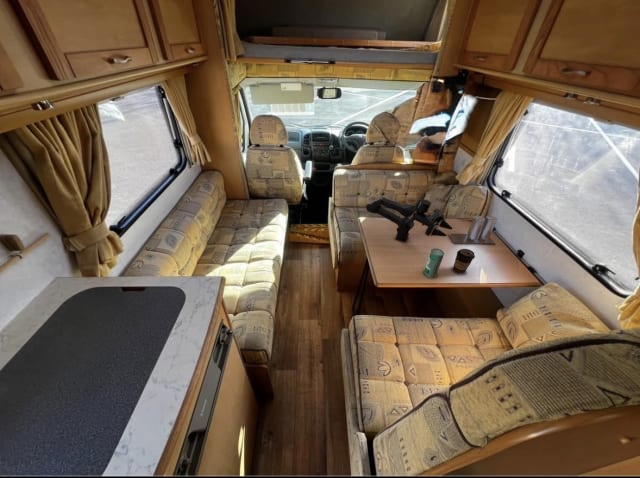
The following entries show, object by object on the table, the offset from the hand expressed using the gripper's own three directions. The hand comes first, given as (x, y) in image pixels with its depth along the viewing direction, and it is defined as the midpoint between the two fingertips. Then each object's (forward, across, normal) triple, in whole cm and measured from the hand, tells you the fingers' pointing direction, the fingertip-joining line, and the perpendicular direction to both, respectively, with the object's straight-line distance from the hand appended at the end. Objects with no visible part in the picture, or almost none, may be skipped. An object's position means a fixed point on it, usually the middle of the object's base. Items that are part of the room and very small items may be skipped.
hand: (449, 232), depth 144 cm
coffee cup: (+15, -8, +14) cm, 22 cm away
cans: (+13, +31, +13) cm, 36 cm away
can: (+4, -21, +16) cm, 26 cm away
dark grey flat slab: (+11, +28, +15) cm, 34 cm away
